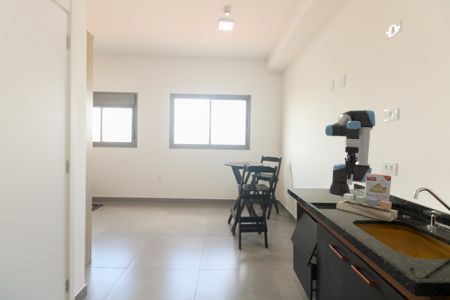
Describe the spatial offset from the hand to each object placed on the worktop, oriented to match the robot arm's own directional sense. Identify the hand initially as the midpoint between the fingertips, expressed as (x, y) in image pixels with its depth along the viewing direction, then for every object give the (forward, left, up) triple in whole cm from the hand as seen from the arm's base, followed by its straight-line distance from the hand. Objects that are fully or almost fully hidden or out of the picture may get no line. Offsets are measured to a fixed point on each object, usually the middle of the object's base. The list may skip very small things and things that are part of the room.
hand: (349, 184), depth 171 cm
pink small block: (0, +21, -12) cm, 24 cm away
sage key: (0, +7, -12) cm, 14 cm away
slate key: (0, +14, -12) cm, 19 cm away
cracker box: (-22, +8, -16) cm, 28 cm away
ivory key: (0, 0, -12) cm, 12 cm away
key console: (0, +10, -15) cm, 19 cm away
